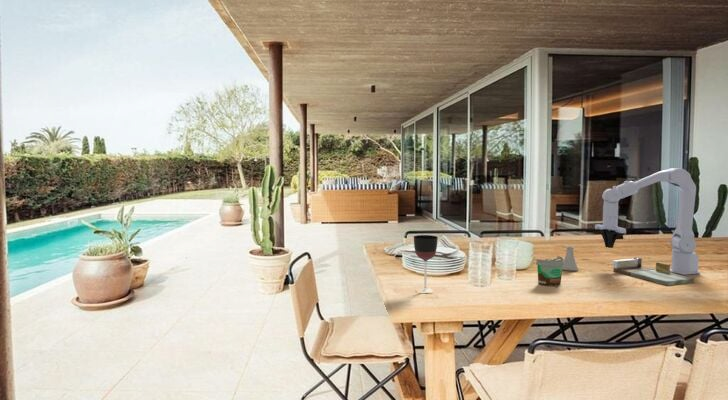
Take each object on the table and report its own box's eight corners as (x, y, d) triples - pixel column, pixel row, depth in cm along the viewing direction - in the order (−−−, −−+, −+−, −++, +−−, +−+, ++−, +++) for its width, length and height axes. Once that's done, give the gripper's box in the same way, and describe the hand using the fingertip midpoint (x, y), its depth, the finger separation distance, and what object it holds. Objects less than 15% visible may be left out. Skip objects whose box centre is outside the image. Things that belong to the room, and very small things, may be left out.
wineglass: (432, 295, 158) (432, 239, 156) (409, 292, 162) (409, 237, 161) (440, 290, 164) (441, 236, 163) (419, 286, 169) (419, 234, 167)
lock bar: (636, 265, 195) (637, 257, 194) (643, 266, 192) (643, 258, 192) (611, 267, 190) (612, 259, 190) (617, 269, 188) (618, 261, 187)
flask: (580, 271, 191) (581, 248, 190) (562, 271, 193) (563, 248, 192) (576, 267, 198) (576, 245, 198) (558, 267, 200) (559, 245, 199)
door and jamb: (638, 268, 196) (638, 257, 195) (693, 282, 173) (694, 269, 173) (613, 271, 192) (613, 259, 191) (666, 285, 169) (667, 272, 168)
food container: (548, 288, 166) (549, 262, 165) (535, 284, 171) (536, 259, 170) (571, 284, 171) (572, 258, 170) (557, 280, 177) (558, 255, 176)
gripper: (589, 215, 200) (588, 245, 201) (617, 218, 187) (616, 250, 188) (602, 214, 202) (601, 244, 204) (630, 218, 189) (629, 249, 190)
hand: (609, 247), depth 196 cm, fingers closed
